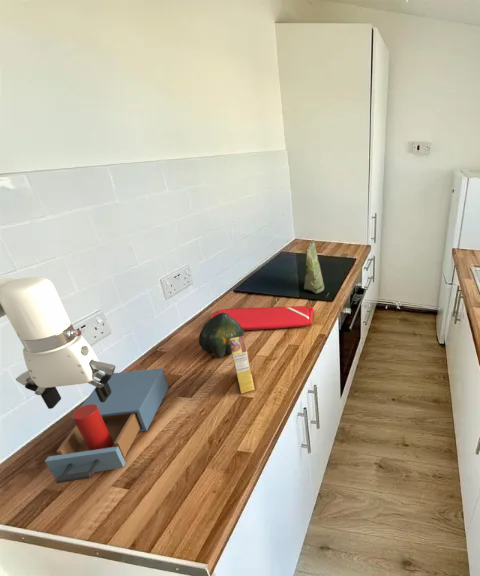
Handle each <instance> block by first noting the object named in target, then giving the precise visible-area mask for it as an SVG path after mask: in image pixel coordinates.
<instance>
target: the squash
mask: <svg viewBox="0 0 480 576" xmlns="http://www.w3.org/2000/svg"><path fill="white" fill-rule="evenodd" d="M211 317H212V316H211ZM211 317H210V318H211ZM210 318H209V319H208V320H207V321H206V322H205V323H204V324H203V326H202V328H201V329H200V331H199V335H198V345H199V346H200V348H201V349H202V351H204V352H205V353H207V354H209V355H213V356H215V357H216V358H219V359H221V358H223V357H224V356H225V355H227V356H228V355H230V356H231V355H232V351H231V345H230V339H231V338H236V337H240V336H243V338H244V336H245V330H243V329H242V327H241V326H240V324H239V323H238V322H237V321H236V320H235V319H234V318H232V317H230V316H229V315H228V314H226V313H225V312H223V313H219V314H217V315H216V316H214V317H212V318H211V319H210Z"/></svg>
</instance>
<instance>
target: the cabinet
mask: <svg viewBox="0 0 480 576" xmlns="http://www.w3.org/2000/svg"><path fill="white" fill-rule="evenodd" d="M108 384H109V386H110V389H111V394H110V395H109V397H108V398H107V399H106V401H105V402H100V400H99V398H98V396H97V394H96V391H95V389H96V387H95V388H93V390H92V392H90V394H89V395H88V396H87V397H86V399H85V401H83V403H82V404H81V405H80V407H79V408H81V407H83V406H85V405H89V404H94V405H97V407H98V409H99V411H100V414H101V416H102V417H105V416H113V415H121V414H129V413H137V415H138V418H139V421H140V423H141V427H140V429H139V431H138V433H142V432H147V431H148V429H149V427H150V425H151V423H152V422H153V419H154V417H156V414H157V412H158V410H159V408H160V405H162V401H163V400H164V398H165V396H166V393H167V392H168V389H169V388H170V387H169V384H168V381H167V378H166V375H165V371H164V369H163V368H162V367H161V368H149V369H140V370H131V371H122V372H114V374H113V375H112V377H111V378H110V379H109V381H108ZM71 420H72V422H73V425H74V427H75V426H76V424H75V422H74V420H73V418H72V417H71Z"/></svg>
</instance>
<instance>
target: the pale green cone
mask: <svg viewBox="0 0 480 576" xmlns="http://www.w3.org/2000/svg"><path fill="white" fill-rule="evenodd" d="M316 247H317V245H316V243H315V240H314V239H312V241H311V242H310V243H309V245H308V246H307V247H306V249H305V270H304V271H305V276H304V285H303V290H307V291H311V292H313V293H314V294H320V293H322V292H323V291H325V284H324V279H323V275H322V269H321V265H320V262H319V257H318V253H317V248H316Z"/></svg>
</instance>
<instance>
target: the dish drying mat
mask: <svg viewBox="0 0 480 576" xmlns="http://www.w3.org/2000/svg"><path fill="white" fill-rule="evenodd" d="M223 312H225V313H226V314H228V315H229V316H230V317H232V318H234V319H235V320H236V321H237V322H238V323H239V324H240V326H241V327H242V329H243V331H256V330H257V331H258V330H272V329H273V330H274V329H288V328H299V327H308V326H312V325H313V315H314V307H313V306H307V305H306V306H305V305H294V306H269V307H268V306H267V307H266V306H265V307H240V308H239V307H238V308H237V307H236V308H235V307H232V308H230V307H229V308H224V309H220V310H216V311H215V312H214V313H213V314H212V315H211V317H210V318H209V320H210V319H211V318H212V317H214V316H216V315H217V314H219V313H223Z"/></svg>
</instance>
